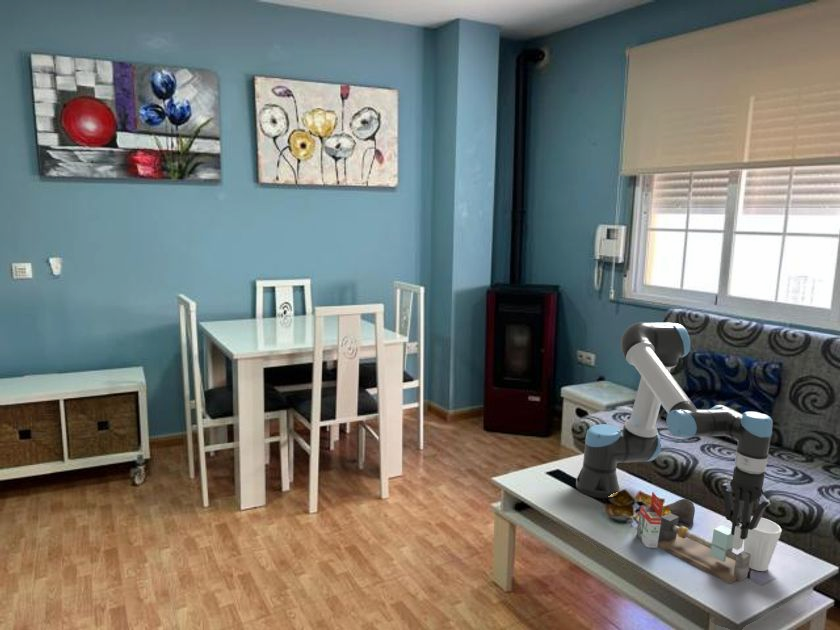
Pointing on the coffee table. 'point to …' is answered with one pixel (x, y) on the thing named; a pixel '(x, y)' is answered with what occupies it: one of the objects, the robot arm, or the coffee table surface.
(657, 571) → the coffee table surface
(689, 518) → the stone
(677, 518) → the wooden slider rod stand
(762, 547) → the cup
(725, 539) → the sleeve
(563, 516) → the coffee table surface
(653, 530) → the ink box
